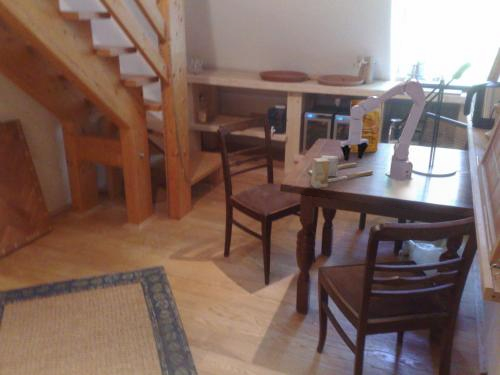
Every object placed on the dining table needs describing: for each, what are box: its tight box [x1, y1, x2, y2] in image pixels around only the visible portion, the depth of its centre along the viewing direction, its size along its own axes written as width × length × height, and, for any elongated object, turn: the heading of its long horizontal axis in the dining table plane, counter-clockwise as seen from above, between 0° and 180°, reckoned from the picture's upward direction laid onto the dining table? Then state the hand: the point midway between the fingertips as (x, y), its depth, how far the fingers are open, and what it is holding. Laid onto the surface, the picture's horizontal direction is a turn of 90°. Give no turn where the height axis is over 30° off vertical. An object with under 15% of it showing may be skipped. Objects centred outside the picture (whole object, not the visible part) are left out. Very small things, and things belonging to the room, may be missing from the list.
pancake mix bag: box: [349, 98, 383, 154], centre depth 235 cm, size 7×19×28 cm, turn 99°
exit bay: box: [308, 169, 348, 183], centre depth 204 cm, size 14×12×1 cm
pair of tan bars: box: [338, 162, 374, 179], centre depth 209 cm, size 13×14×2 cm
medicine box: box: [320, 155, 339, 178], centre depth 204 cm, size 8×4×9 cm, turn 74°
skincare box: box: [310, 157, 330, 189], centre depth 190 cm, size 6×4×12 cm
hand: (353, 159), depth 207 cm, fingers open, 7 cm apart
